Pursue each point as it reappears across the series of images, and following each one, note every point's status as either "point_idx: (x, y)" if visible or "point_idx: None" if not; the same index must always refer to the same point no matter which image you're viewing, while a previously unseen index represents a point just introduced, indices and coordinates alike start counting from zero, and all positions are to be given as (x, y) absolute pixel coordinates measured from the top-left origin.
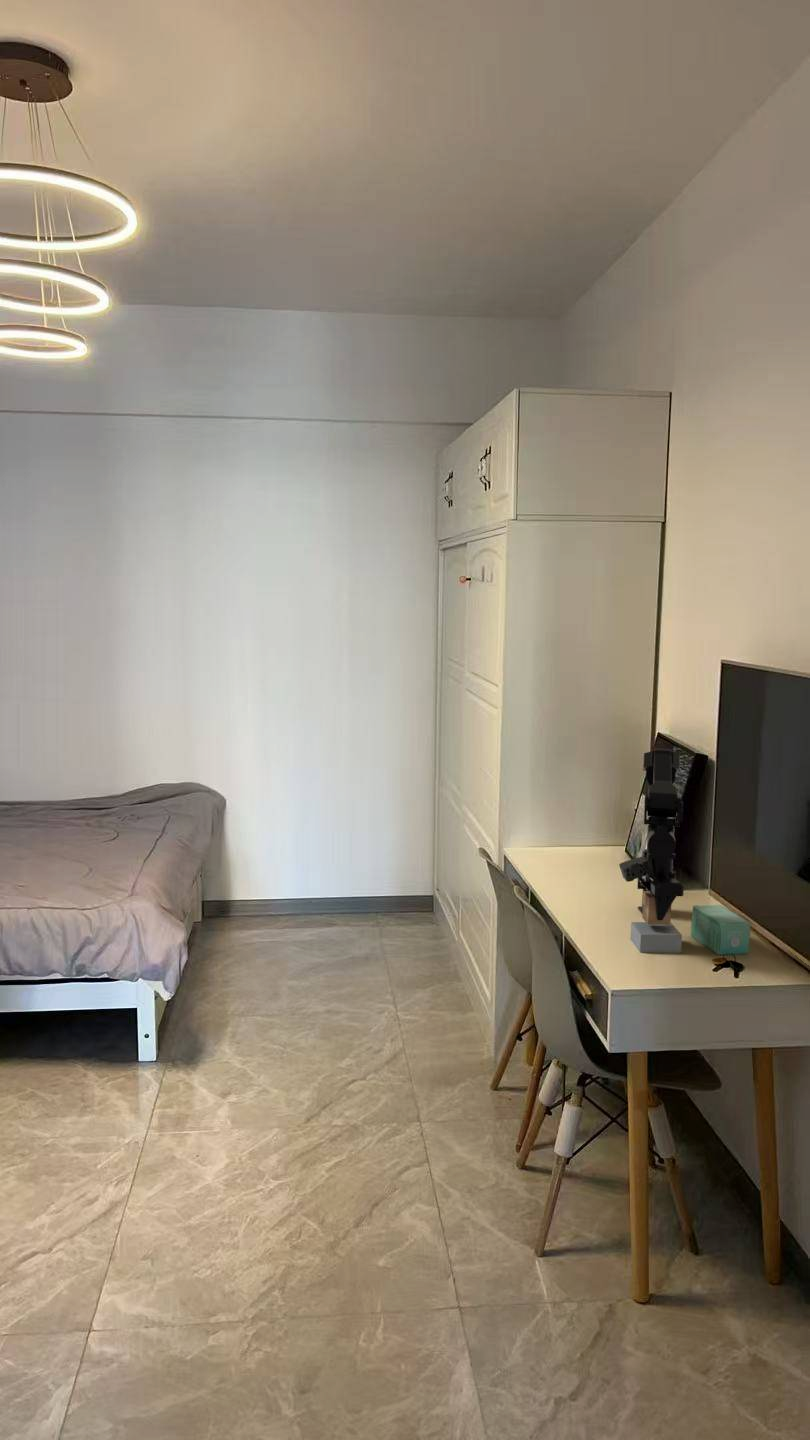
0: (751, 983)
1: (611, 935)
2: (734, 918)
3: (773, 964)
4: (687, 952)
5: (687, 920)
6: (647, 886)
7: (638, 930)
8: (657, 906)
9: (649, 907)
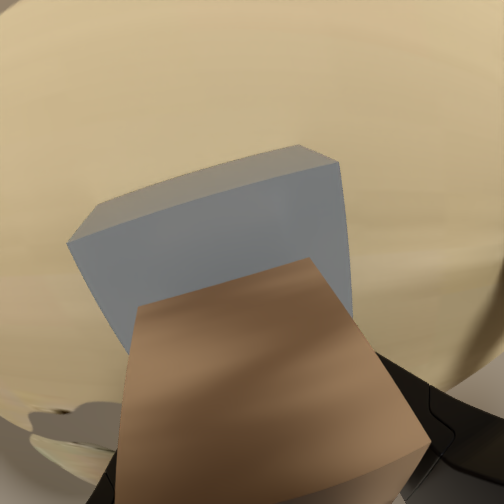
0: (41, 447)
1: (336, 54)
2: None
3: None
4: None
5: (479, 320)
6: (469, 485)
7: (144, 221)
8: (105, 479)
9: (126, 423)
